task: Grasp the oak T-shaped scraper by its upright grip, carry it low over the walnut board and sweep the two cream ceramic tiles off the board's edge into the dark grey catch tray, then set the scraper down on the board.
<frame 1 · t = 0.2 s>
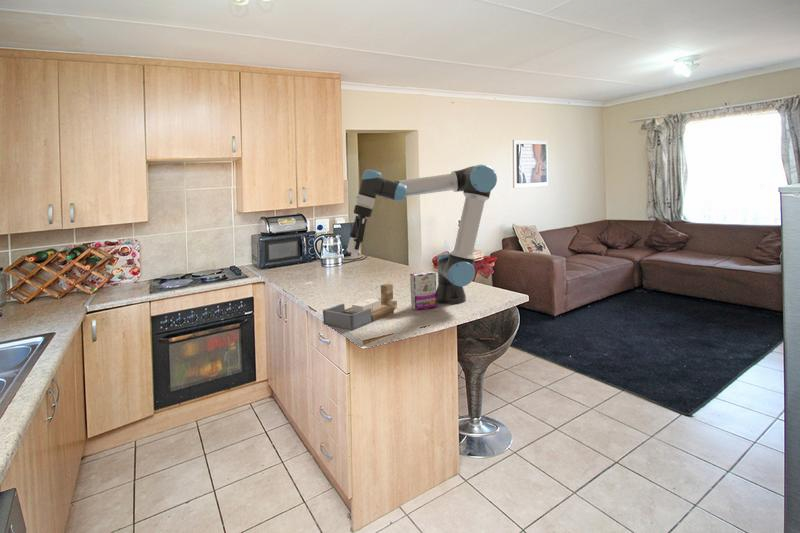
hand: (351, 254, 187), 27 cm above the worktop, tool tilted 15°, fingers open, 13 cm apart
board: (369, 314, 191), on the worktop
tile 1: (362, 310, 187), point 3 cm above the worktop, touching board
catch tray: (347, 323, 180), on the worktop
scraper: (387, 307, 202), on the worktop
candy bar box: (423, 308, 200), on the worktop
tile 2: (371, 307, 193), point 3 cm above the worktop, touching board
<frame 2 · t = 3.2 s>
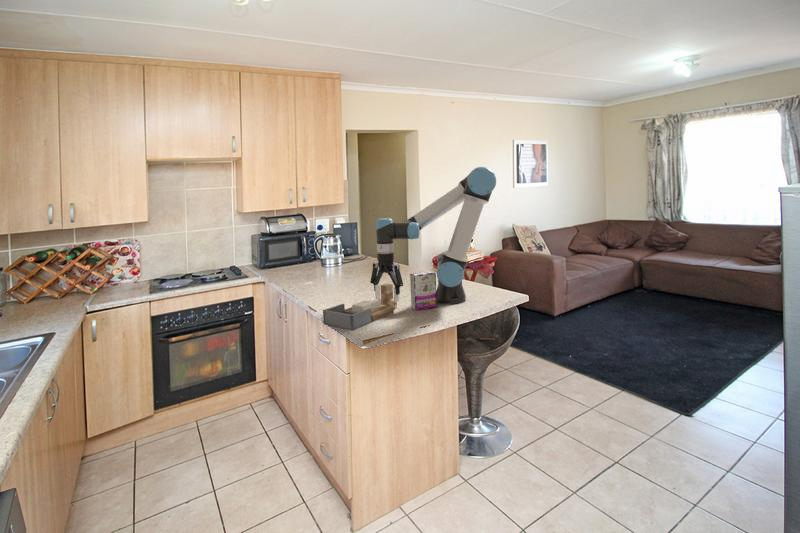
hand: (387, 299, 202), 4 cm above the worktop, tool pointing down, fingers closed on scraper, 10 cm apart
scraper: (387, 307, 202), on the worktop, touching gripper
everything else where it was.
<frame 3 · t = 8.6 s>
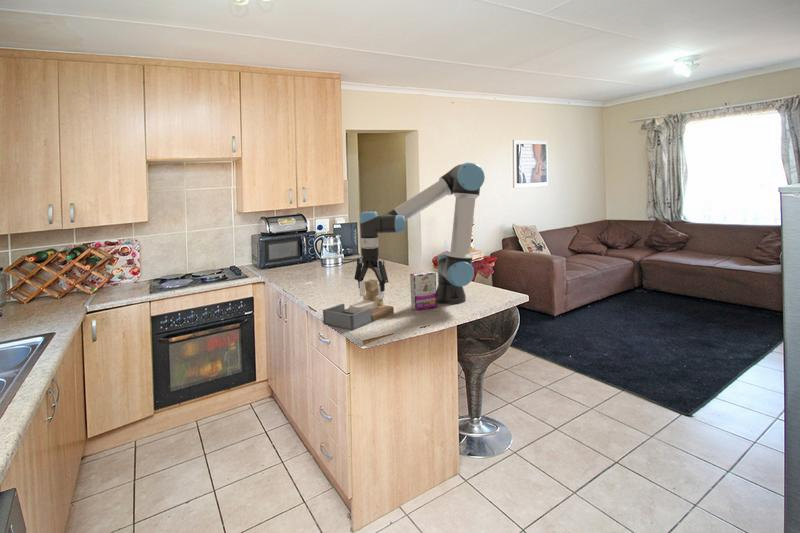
hand: (371, 297, 192), 8 cm above the worktop, tool pointing down, fingers closed on scraper, 10 cm apart
tile 1: (359, 311, 186), point 3 cm above the worktop, touching board, catch tray
scraper: (373, 304, 194), point 4 cm above the worktop, tilted 6°, touching gripper, tile 2
tile 2: (368, 308, 191), point 3 cm above the worktop, touching board, scraper
everything else where it was.
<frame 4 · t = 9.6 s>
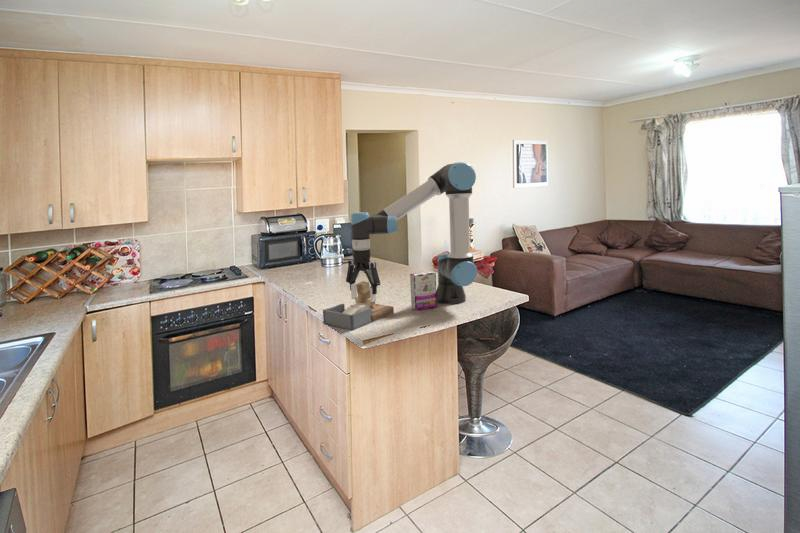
hand: (363, 299, 188), 7 cm above the worktop, tool pointing down, fingers closed on scraper, 10 cm apart
tile 1: (351, 317, 182), point 2 cm above the worktop, tilted 24°, touching catch tray
scraper: (366, 306, 189), point 4 cm above the worktop, tilted 8°, touching gripper, tile 2
tile 2: (360, 311, 186), point 3 cm above the worktop, touching board, catch tray, scraper
everything else where it was.
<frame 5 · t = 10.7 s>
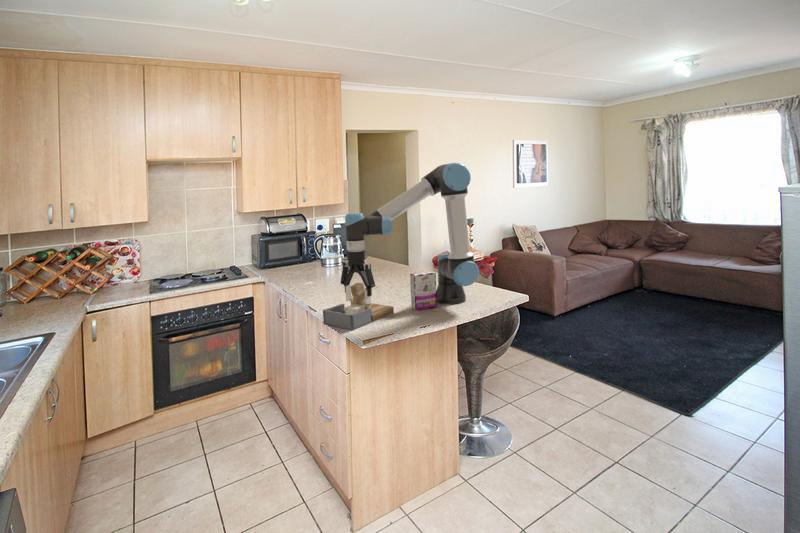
hand: (358, 301, 185), 7 cm above the worktop, tool pointing down, fingers closed on scraper, 10 cm apart
tile 1: (346, 322, 179), point 1 cm above the worktop, touching catch tray, tile 2
scraper: (361, 308, 187), point 4 cm above the worktop, tilted 11°, touching gripper, tile 2
tile 2: (355, 313, 184), point 3 cm above the worktop, touching catch tray, scraper, tile 1
everything else where it was.
when the fingers open (7 cm above the worktop, at t = 12.8 s): scraper stays where it is and tips over, resting on board, tile 2.
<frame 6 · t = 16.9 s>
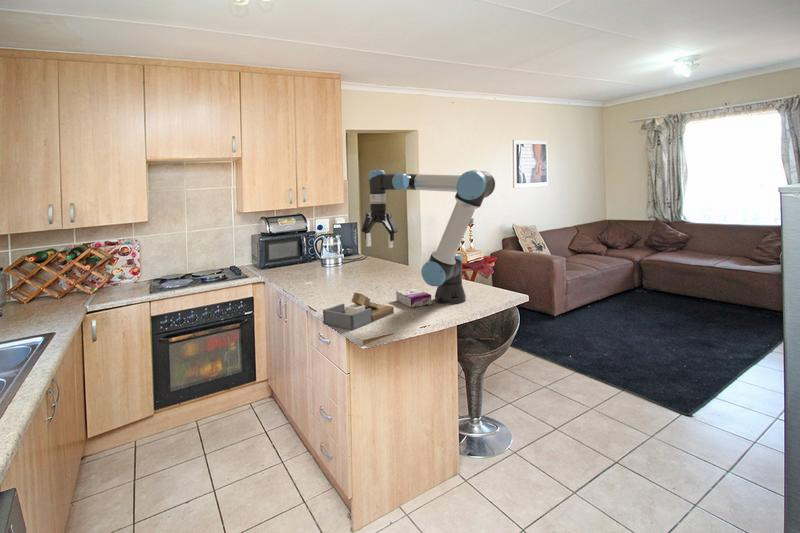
hand: (379, 247, 212), 27 cm above the worktop, tool pointing down, fingers open, 13 cm apart
tile 1: (346, 322, 179), point 1 cm above the worktop, touching catch tray
scraper: (370, 306, 192), point 4 cm above the worktop, tilted 57°, touching board, tile 2
candy bar box: (421, 301, 202), point 2 cm above the worktop
tile 2: (355, 313, 184), point 3 cm above the worktop, touching catch tray, scraper
at the end: tile 2 inside the target area (5.6 cm from its centre), point 3.0 cm above the worktop; tile 1 inside the target area (0.5 cm from its centre), point 0.6 cm above the worktop; scraper inside the target area (1.3 cm from its centre), point 3.6 cm above the worktop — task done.
